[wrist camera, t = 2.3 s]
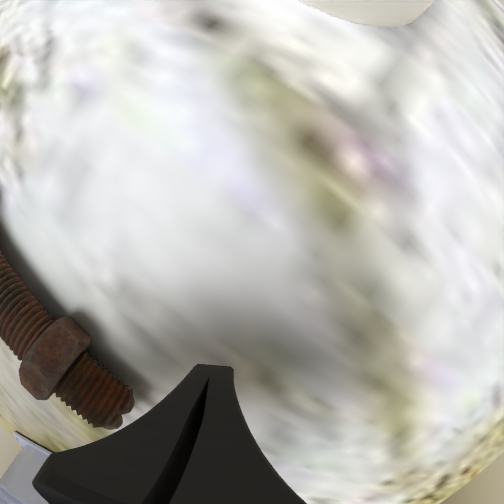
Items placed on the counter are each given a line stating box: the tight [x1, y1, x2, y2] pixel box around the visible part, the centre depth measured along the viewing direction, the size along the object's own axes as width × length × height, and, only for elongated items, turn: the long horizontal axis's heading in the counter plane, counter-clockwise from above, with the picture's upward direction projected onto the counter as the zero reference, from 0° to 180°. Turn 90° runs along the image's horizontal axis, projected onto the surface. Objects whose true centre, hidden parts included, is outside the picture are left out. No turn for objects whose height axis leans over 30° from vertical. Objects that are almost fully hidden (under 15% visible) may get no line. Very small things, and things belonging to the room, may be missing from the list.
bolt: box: [0, 252, 134, 430], centre depth 10 cm, size 6×5×15 cm
